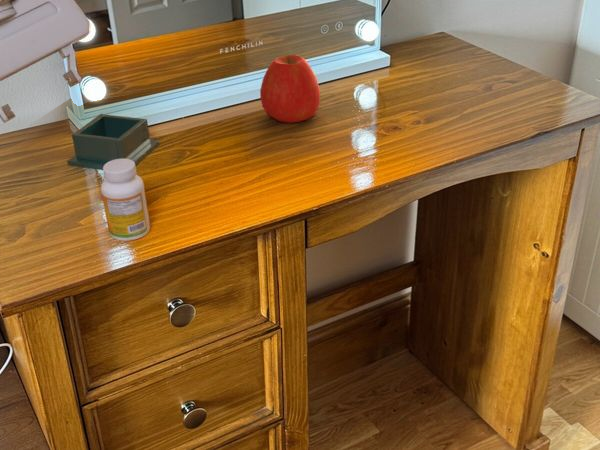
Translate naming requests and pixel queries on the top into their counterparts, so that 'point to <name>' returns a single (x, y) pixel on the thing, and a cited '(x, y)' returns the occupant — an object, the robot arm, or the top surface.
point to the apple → (290, 90)
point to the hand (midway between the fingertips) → (43, 101)
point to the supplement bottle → (124, 201)
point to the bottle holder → (111, 141)
